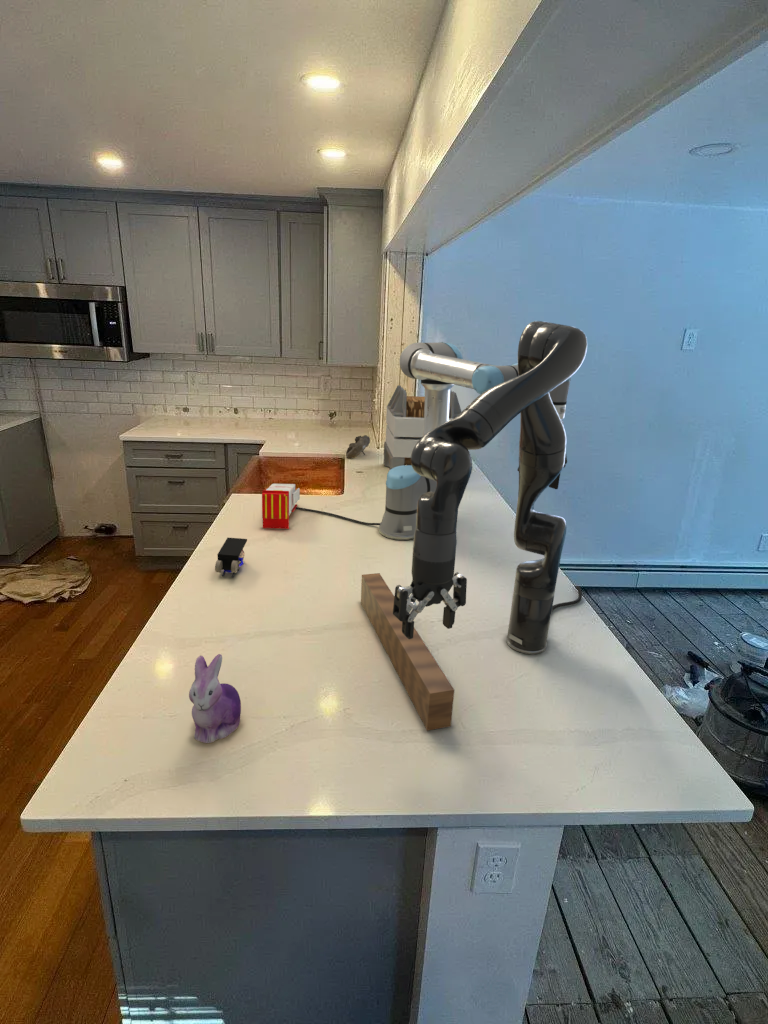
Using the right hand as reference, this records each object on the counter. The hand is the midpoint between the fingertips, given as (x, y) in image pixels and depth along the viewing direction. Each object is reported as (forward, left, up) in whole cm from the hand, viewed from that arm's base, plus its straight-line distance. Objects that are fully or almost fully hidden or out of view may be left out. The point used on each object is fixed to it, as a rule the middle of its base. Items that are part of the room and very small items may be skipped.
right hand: (428, 631), depth 105 cm
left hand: (-72, -18, +8) cm, 75 cm away
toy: (-47, -107, -19) cm, 119 cm away
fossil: (-134, -157, -19) cm, 207 cm away
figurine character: (-8, -80, -19) cm, 82 cm away
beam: (-12, -17, -19) cm, 28 cm away
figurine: (+30, -24, -19) cm, 43 cm away
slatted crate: (-133, -112, -19) cm, 175 cm away
